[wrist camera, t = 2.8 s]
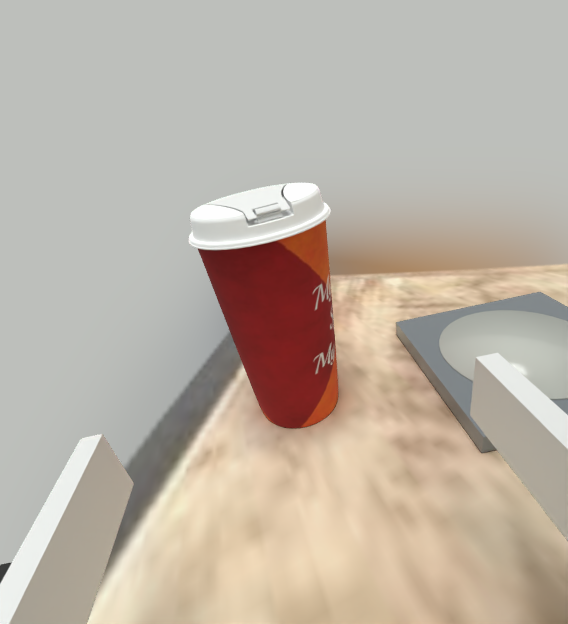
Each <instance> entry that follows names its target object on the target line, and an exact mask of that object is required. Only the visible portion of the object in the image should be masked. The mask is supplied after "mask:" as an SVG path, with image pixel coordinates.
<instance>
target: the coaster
mask: <svg viewBox="0 0 568 624" xmlns="http://www.w3.org/2000/svg"><path fill="white" fill-rule="evenodd" d="M396 334H397V336H398V337H399V339H400V340H401V341H402V343H403V344H404V346H405V347H406V348H407V350H408V351H409V353H410V354H411V355H412V357H413V358H414V360H415V361H416V362H417V364H418V365H419V367H420V368H421V369H422V371H423V372H424V374H425V375H426V376H427V378H428V379H429V380H430V382H431V383H432V385H433V386H434V387H435V389H436V390H437V392H438V393H439V394H440V396H441V397H442V399H443V400H444V401H445V403H446V404H447V406H448V407H449V408H450V410H451V411H452V413H453V414H454V415H455V417H456V418H457V419H458V421H459V422H460V424H461V425H462V426H463V428H464V429H465V431H466V432H467V433H468V435H469V436H470V438H471V439H472V440H473V442H474V443H475V445H476V446H477V447H478V449H479V450H480V452H481V453H483V452H488V451H493V450H497V449H496V448H495V447H494V446H493V444H492V443H491V442H490V440H489V439H488V438H487V437H486V435H485V434H484V433H483V431H482V430H481V429H480V427H479V426H478V425H477V424H476V422H475V421H474V420H473V418H472V417H471V416H470V410H471V400H472V390H473V379H474V369H475V359H476V357H479V356H484V355H489V354H494V353H499V354H500V355H501V356H502V357H503V358H504V359H505V360H507V361H508V362H509V363H510V364H511V365H512V366H513V367H514V368H516V369H517V370H518V371H519V372H520V373H521V374H522V375H523V376H525V377H526V378H527V379H528V380H529V381H530V382H531V383H532V384H533V385H535V386H536V387H537V388H538V389H539V390H540V391H541V392H542V393H544V394H545V395H546V396H547V397H548V398H549V399H550V400H551V401H553V402H554V403H555V404H556V405H557V406H558V407H559V408H560V409H562V410H563V411H564V412H565V413H566V414H567V415H568V307H567V306H565V305H563V304H561V303H559V302H558V301H556V300H554V299H552V298H550V297H549V296H547V295H545V294H543V293H541V292H537V293H532V294H527V295H523V296H518V297H513V298H509V299H504V300H499V301H494V302H490V303H485V304H480V305H475V306H471V307H466V308H461V309H457V310H452V311H447V312H442V313H438V314H433V315H428V316H424V317H419V318H414V319H409V320H405V321H400V322H396Z"/></svg>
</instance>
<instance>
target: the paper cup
mask: <svg viewBox="0 0 568 624" xmlns="http://www.w3.org/2000/svg"><path fill="white" fill-rule="evenodd" d="M330 213H331V209H330V208H329V206H328V205H327V204H326V203H324V202H323V200H322V196H321V193H320V190H319V188H318V187H317V185H315V184H312V183H290V184H282V185H275V186H268V187H263V188H258V189H253V190H249V191H245V192H241V193H237V194H233V195H230V196H226V197H223V198H220V199H217V200H214V201H212V202H209V203H207V204H204V205H202V206H200V207H198V208H196V209H195V210H194V211H192V213H191V216H190V222H191V228H192V232H191V234H190V236H189V243H190V245H191V246H193V247H195V248H198V250H199V253H200V255H201V258H202V260H203V263H204V266H205V268H206V271H207V273H208V276H209V278H210V281H211V284H212V286H213V289H214V291H215V294H216V296H217V299H218V302H219V304H220V307H221V309H222V312H223V314H224V317H225V319H226V322H227V325H228V327H229V330H230V332H231V335H232V337H233V340H234V343H235V345H236V348H237V350H238V353H239V355H240V358H241V360H242V363H243V365H244V368H245V371H246V373H247V376H248V378H249V380H250V383H251V385H252V388H253V390H254V393H255V395H256V398H257V400H258V402H259V405H260V407H261V409H262V411H263V413H264V415H265V416H266V417H267V419H268V420H269V421H271V422H272V423H274V424H276V425H278V426H281V427H285V428H303V427H307V426H311V425H313V424H316V423H318V422H320V421H321V420H323V419H324V418H326V417H327V416H328V415H329V414H330V413H331V412H332V411H333V409H334V408H335V406H336V403H337V400H338V377H337V362H336V348H335V334H334V321H333V308H332V296H331V283H330V272H329V259H328V246H327V233H326V219H327V218H328V217H329V215H330Z"/></svg>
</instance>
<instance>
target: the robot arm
mask: <svg viewBox="0 0 568 624" xmlns="http://www.w3.org/2000/svg"><path fill="white" fill-rule="evenodd" d="M470 416H471V417H472V418H473V420H474V421H475V422H476V424H477V425H478V426H479V427H480V429H481V430H482V431H483V433H484V434H485V435H486V437H487V438H488V439H489V440H490V442H491V443H492V444H493V446H494V447H495V448H496V449H497V451H498V452H499V453H500V455H501V456H502V457H503V458H504V460H505V461H506V462H507V464H508V465H509V466H510V468H511V469H512V470H513V471H514V473H515V474H516V475H517V477H518V478H519V479H520V480H521V482H522V483H523V484H524V486H525V487H526V488H527V489H528V491H529V492H530V493H531V495H532V496H533V497H534V499H535V500H536V501H537V502H538V504H539V505H540V506H541V508H542V509H543V510H544V511H545V513H546V514H547V515H548V517H549V518H550V519H551V520H552V522H553V523H554V524H555V526H556V527H557V528H558V530H559V531H560V532H561V533H562V535H563V536H564V537H565V539H566V540H567V541H568V415H567V414H566V413H565V412H564V411H563V410H562V409H560V408H559V407H558V406H557V405H556V404H555V403H554V402H553V401H551V400H550V399H549V398H548V397H547V396H546V395H545V394H544V393H542V392H541V391H540V390H539V389H538V388H537V387H536V386H535V385H533V384H532V383H531V382H530V381H529V380H528V379H527V378H526V377H525V376H523V375H522V374H521V373H520V372H519V371H518V370H517V369H516V368H514V367H513V366H512V365H511V364H510V363H509V362H508V361H507V360H505V359H504V358H503V357H502V356H501V355H500V354H499V353H494V354H489V355H484V356H479V357H476V359H475V369H474V379H473V390H472V400H471V410H470ZM133 484H134V483H133V482H132V480H131V478H130V477H129V475H128V474H127V472H126V470H125V469H124V467H123V466H122V464H121V463H120V461H119V459H118V458H117V456H116V455H115V453H114V451H113V450H112V448H111V447H110V445H109V443H108V442H107V440H106V439H105V437H104V435H103V434H99V435H95V436H90V437H85V438H81V439H80V441H79V443H78V445H77V446H76V448H75V450H74V452H73V454H72V455H71V457H70V459H69V461H68V463H67V464H66V466H65V468H64V470H63V472H62V473H61V476H60V477H59V479H58V481H57V482H56V484H55V486H54V488H53V490H52V492H51V493H50V495H49V497H48V499H47V500H46V502H45V504H44V506H43V508H42V510H41V511H40V513H39V515H38V517H37V519H36V520H35V522H34V524H33V526H32V527H31V529H30V531H29V533H28V535H27V537H26V539H25V540H24V542H23V544H22V546H21V547H20V549H19V551H18V553H17V554H16V557H15V558H14V560H13V562H12V563H7V564H2V565H0V624H87V622H88V619H89V616H90V613H91V610H92V607H93V604H94V601H95V598H96V595H97V592H98V589H99V586H100V583H101V580H102V577H103V574H104V571H105V568H106V565H107V562H108V559H109V556H110V553H111V550H112V547H113V544H114V541H115V538H116V535H117V532H118V529H119V526H120V523H121V520H122V517H123V514H124V511H125V508H126V505H127V502H128V499H129V496H130V493H131V490H132V487H133Z"/></svg>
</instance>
